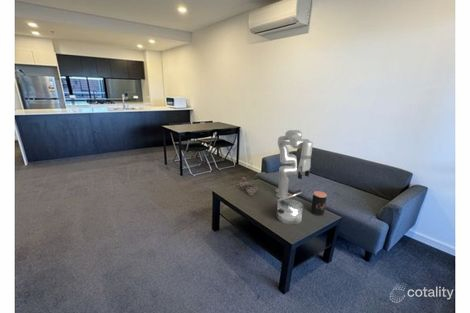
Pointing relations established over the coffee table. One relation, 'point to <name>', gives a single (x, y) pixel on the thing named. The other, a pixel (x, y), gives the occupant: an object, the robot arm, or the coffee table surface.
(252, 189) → the pottery
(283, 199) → the cooker lid
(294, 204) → the cooker pot
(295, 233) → the coffee table surface
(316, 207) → the coffee jar
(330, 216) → the coffee table surface
